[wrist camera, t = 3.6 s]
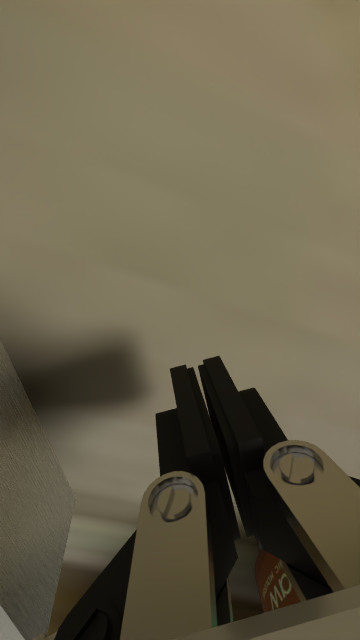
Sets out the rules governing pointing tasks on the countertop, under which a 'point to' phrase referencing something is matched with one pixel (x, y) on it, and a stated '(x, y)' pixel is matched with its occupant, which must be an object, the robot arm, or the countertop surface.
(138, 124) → the countertop surface
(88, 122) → the countertop surface
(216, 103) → the countertop surface
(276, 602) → the food container
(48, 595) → the grey boxy piece
